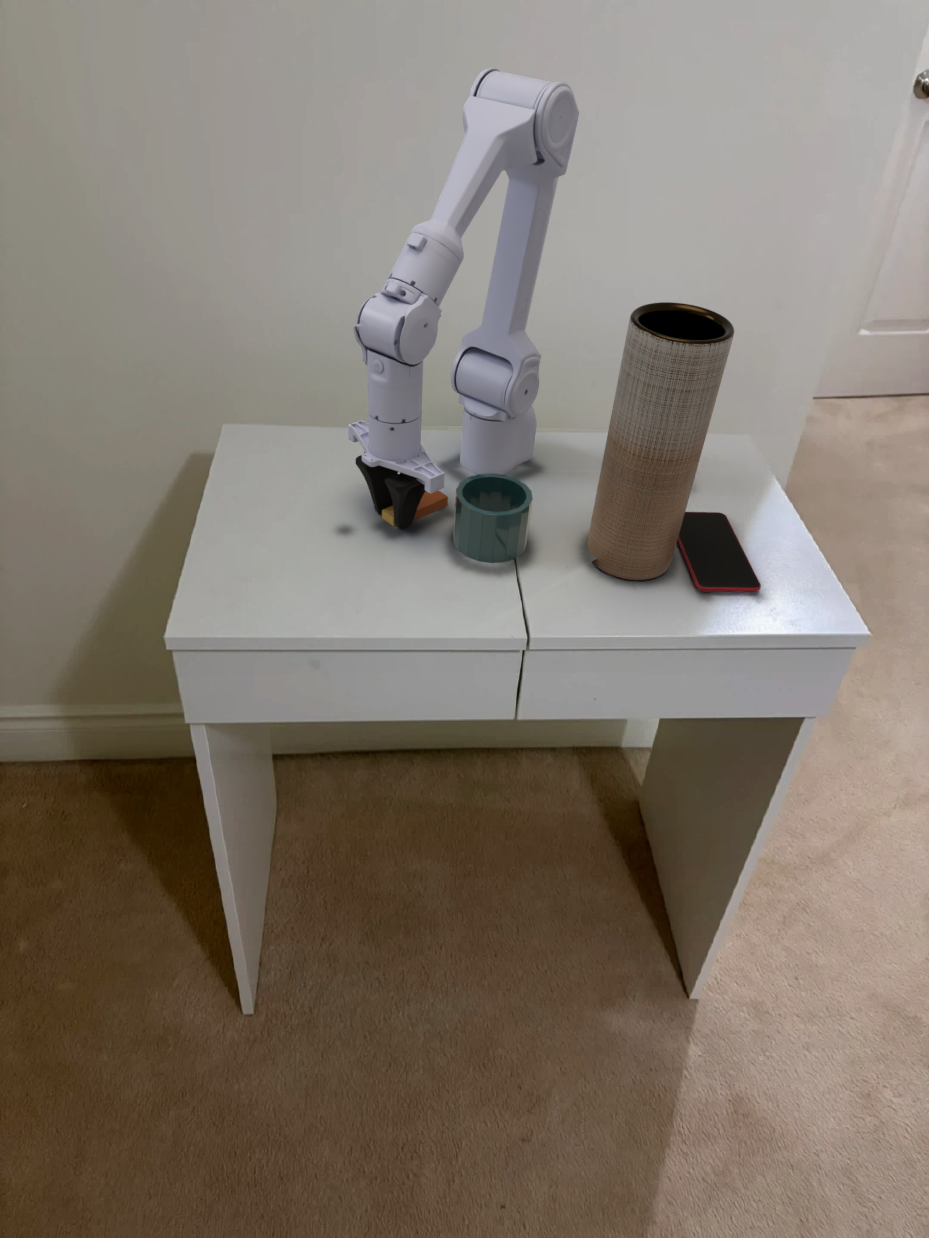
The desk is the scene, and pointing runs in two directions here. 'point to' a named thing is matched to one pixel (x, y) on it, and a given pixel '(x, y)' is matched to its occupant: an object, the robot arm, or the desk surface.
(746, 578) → the smartphone
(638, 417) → the vase
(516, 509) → the cup
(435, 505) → the tan orange collared block
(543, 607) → the desk surface
